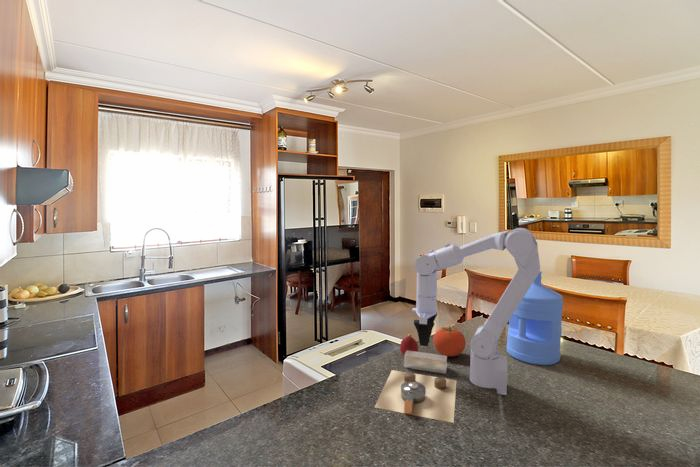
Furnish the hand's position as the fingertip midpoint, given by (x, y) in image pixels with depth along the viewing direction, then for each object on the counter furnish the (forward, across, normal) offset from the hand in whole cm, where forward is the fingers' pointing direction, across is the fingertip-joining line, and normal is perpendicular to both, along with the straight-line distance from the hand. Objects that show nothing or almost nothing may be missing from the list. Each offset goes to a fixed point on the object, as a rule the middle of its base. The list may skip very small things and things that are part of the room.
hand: (425, 340), depth 102 cm
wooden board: (+9, +15, 0) cm, 18 cm away
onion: (+10, -7, -6) cm, 13 cm away
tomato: (+10, -14, +6) cm, 18 cm away
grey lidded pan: (+8, +20, -1) cm, 21 cm away
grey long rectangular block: (+10, 0, 0) cm, 10 cm away
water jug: (+10, -23, +32) cm, 41 cm away
